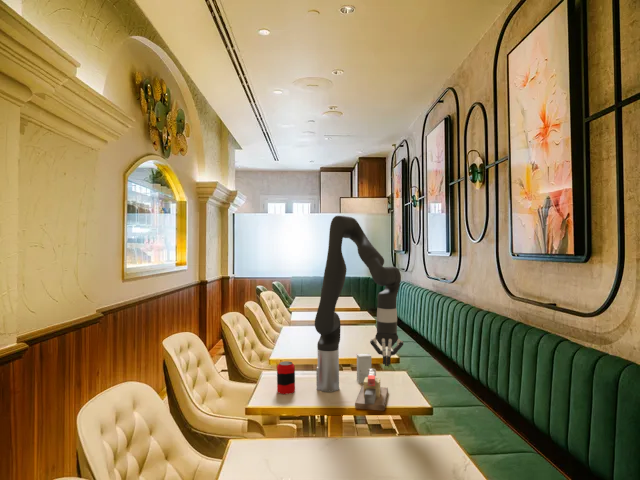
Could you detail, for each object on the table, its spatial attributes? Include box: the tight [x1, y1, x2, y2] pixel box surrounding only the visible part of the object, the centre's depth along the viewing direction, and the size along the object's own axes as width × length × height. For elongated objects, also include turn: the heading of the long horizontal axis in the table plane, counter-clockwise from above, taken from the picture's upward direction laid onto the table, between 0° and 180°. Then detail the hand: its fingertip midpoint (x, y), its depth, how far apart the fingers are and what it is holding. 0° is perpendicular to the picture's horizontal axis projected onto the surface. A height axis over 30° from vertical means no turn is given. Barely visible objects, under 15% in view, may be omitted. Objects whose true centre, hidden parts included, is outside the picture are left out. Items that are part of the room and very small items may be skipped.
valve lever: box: [368, 367, 377, 386], centre depth 162 cm, size 13×3×3 cm, turn 172°
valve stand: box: [354, 377, 389, 411], centre depth 167 cm, size 11×19×10 cm, turn 166°
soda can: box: [276, 361, 296, 395], centre depth 177 cm, size 8×8×12 cm
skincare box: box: [356, 353, 372, 384], centre depth 188 cm, size 6×4×12 cm
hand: (386, 365), depth 156 cm, fingers closed
